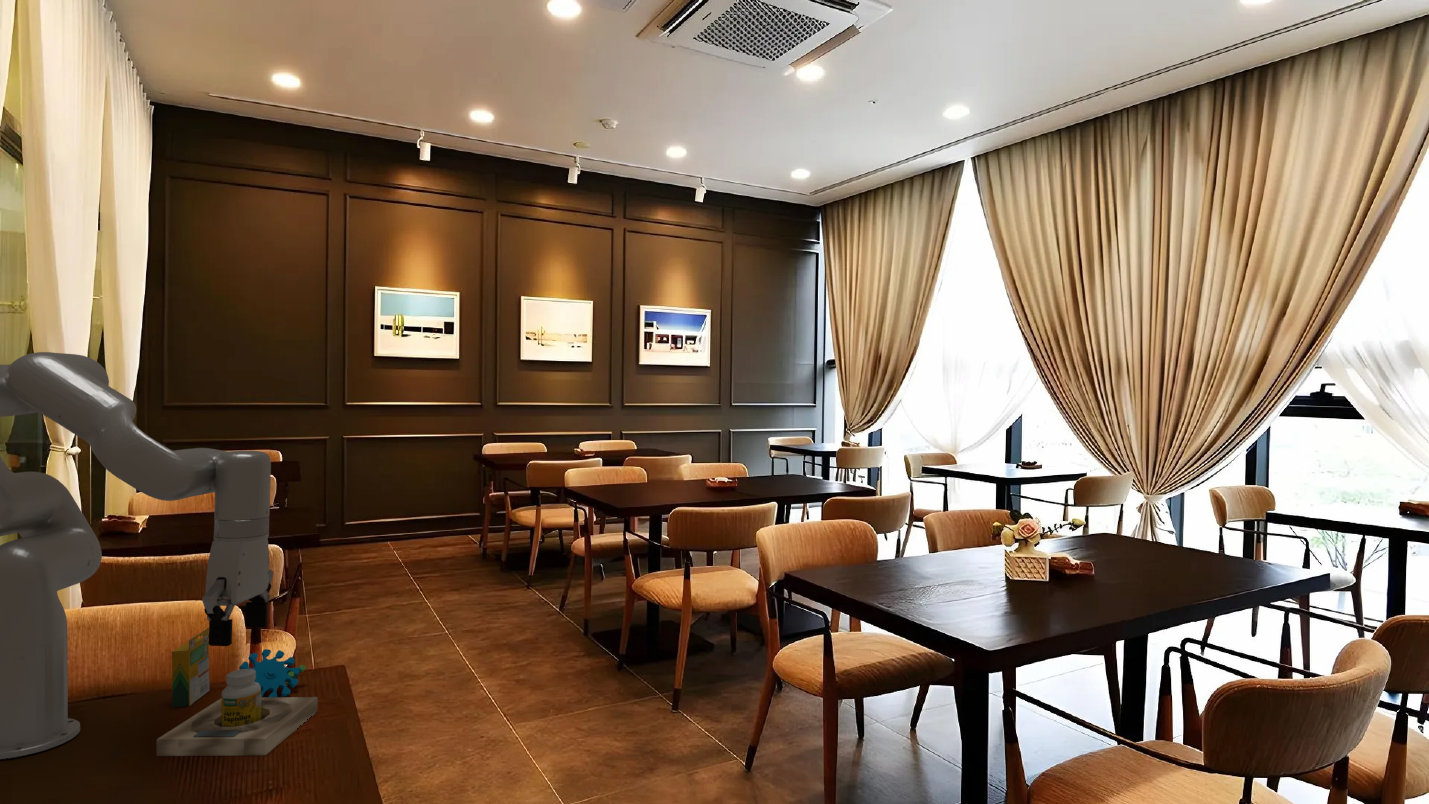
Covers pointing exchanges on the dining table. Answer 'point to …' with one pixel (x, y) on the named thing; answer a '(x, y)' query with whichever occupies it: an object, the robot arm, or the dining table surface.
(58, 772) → the dining table surface
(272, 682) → the blue virus toy
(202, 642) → the crayon box
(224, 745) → the socket board
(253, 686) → the supplement bottle
